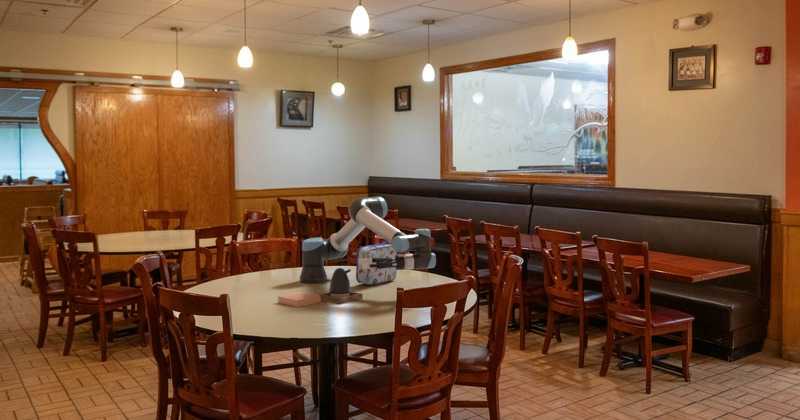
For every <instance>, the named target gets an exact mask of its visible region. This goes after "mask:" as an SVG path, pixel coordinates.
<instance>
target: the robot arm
mask: <svg viewBox="0 0 800 420" xmlns="http://www.w3.org/2000/svg"><path fill="white" fill-rule="evenodd" d="M348 214H349V217H350V220H349V221H348V222H346V223H345V225H344V226H343V227H342V228H340V230H338V231H337V232H335V233H332V234H331V235H329V237H328V238H327V239H326V238H325V239H323V238H322V237H310V238H307V239H305V240H303V241H302V244H301V245H302V246H301V250H302V251H301V254H302V255H301V256H302V257H301V258H302V269H301V272H300V276H299V282H300V283H303V284H319V283H325V282H327V281H328V275H327V273H326V269H325V265H324V263H325V262H324V261H330V260H338V259H342V258H344V257H346V255H347V254H348V252H349V251H348V250H349V244H350V243H351V242H352V241H353V240H354V239H355V238H356V237H357V236H358V235H359V234H360V233H361V232H362V231H363V230H364V229H365V228H367V229H369V230H370V231H372V232H373V233H375V234H377V235H378V236H379V237H380V238H382V239H384V240H385V241H386V242H388V243H389V244H390V245H392V247H393V249H394V250H395V251H396V252H397V255H396V256H395V259H392V258H372V259H359V265H362V269H373V268H376V267H377V269H378V268H379V269H383V268H390V267H396V269H397V271H400V270H401V271H403V270H409V271H411V270H424V269H425V270H427V269H433V268H435V266H436V265H437V258H436V254H435V253H434V252H432V247H431V246H432V244H431V243H432V241H431V240H432V235H431V230H430V229H428V228H417V229H415V231H414V233H413V234H406V233H404V232H402V231H400V229H398V228H396V227H394V226H393V225H391V224H390V223H389V222H388V221H386V220H384V218H385V217H386V216H387V214H388V204H387V202H386V200H385V199H384V198H383V197H382V196H370V197H357V198H355V199H353V200H352V201H351V202H350V204H349V206H348ZM408 251H415V253H404V252H408ZM399 252H400V253H401V254H399ZM402 253H404V254H402Z"/></svg>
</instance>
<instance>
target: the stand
mask: <svg viewBox="0 0 800 420" xmlns="http://www.w3.org/2000/svg"><path fill="white" fill-rule="evenodd" d="M321 302H322V300H321V299H320V295H318V294H313V293H311V292H310V293H309V292H304V291H299V292H294V293H293V292H292V293H289V294H283V295H279V296H277V303H278V304H283V305H288V306H293V307H296V308H298V307H303V306H308V305H313V304H317V303H321Z"/></svg>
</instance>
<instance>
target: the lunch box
mask: <svg viewBox="0 0 800 420" xmlns="http://www.w3.org/2000/svg"><path fill="white" fill-rule="evenodd" d="M397 254H398V252H396V251H395V250H394V249H393V247H392V245H391V243H389V242H388V241H383V242H382V243H377V244H373V245H372V244H370V245H364V246H361V247H359V248H358V250H357V251H356V259H355V261H356V262H355V263H356V264H355V265H356V267H355V280H356V282H358V283H359V284H363V285H367V286H368V285H369V286H374V285H380V284H384V283H388V282H391V281H394V280H395V279H396V277H397V274H398V273H397V271H398V270H397V269H396V267H390V268H383V269H379V268H378V269H377V267H376V268H373V269H362V265H359V259H372V258H392V259H395V256H396V255H397Z"/></svg>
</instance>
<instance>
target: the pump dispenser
mask: <svg viewBox="0 0 800 420" xmlns="http://www.w3.org/2000/svg"><path fill="white" fill-rule="evenodd" d="M351 271H352V270H351V269H350V268H349V269H346V270H345V269H344V268H342V267H338V268H336V269H335V270H334V271H333V274H332V276H331V278H330V282H329V289H328V290H329V291H328V292H330V294H331V297H337V298H342V297H347V296H349V295H350V292H352V291H351V290H352V289H351V283H350V279H349V276H348V273H350V272H351Z"/></svg>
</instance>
